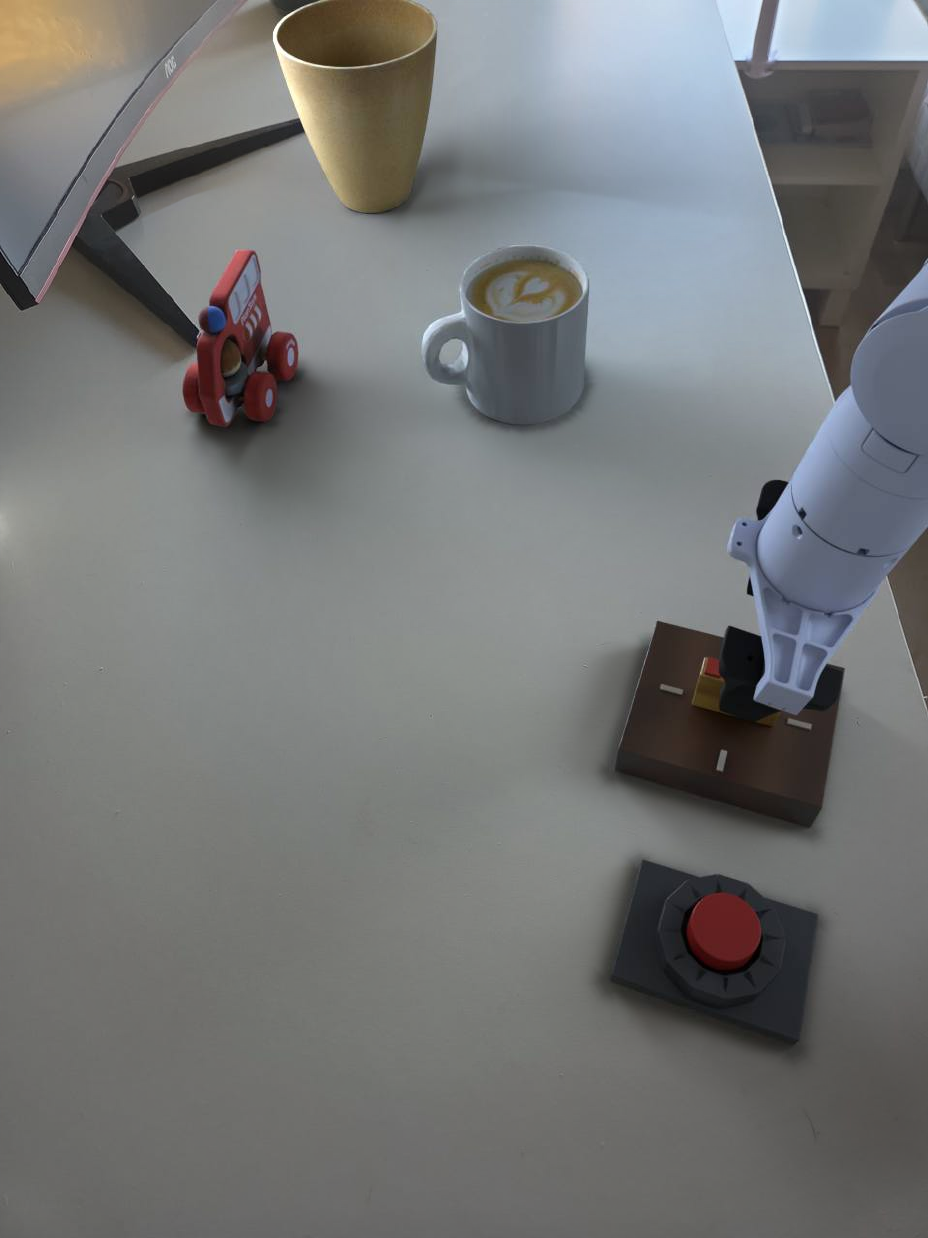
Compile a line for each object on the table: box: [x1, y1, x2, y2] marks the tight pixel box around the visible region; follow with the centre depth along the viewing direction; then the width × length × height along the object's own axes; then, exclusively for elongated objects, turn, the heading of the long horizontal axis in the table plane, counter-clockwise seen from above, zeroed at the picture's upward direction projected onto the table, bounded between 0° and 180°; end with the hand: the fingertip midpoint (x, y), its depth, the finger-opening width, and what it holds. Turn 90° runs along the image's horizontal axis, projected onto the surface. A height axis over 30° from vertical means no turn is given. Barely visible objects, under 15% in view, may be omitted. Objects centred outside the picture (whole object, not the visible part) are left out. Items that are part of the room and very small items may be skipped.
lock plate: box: [614, 620, 846, 829], centre depth 60 cm, size 12×10×3 cm
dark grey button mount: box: [609, 858, 819, 1046], centre depth 52 cm, size 10×7×3 cm
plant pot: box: [272, 0, 439, 214], centre depth 93 cm, size 15×15×16 cm
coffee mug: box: [420, 244, 590, 426], centre depth 77 cm, size 13×10×10 cm
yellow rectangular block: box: [692, 657, 780, 727], centre depth 58 cm, size 5×1×4 cm, turn 70°
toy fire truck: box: [182, 248, 299, 428], centre depth 79 cm, size 7×12×10 cm, turn 166°
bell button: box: [687, 893, 761, 971], centre depth 51 cm, size 4×4×2 cm
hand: (751, 651), depth 52 cm, fingers open, 7 cm apart
